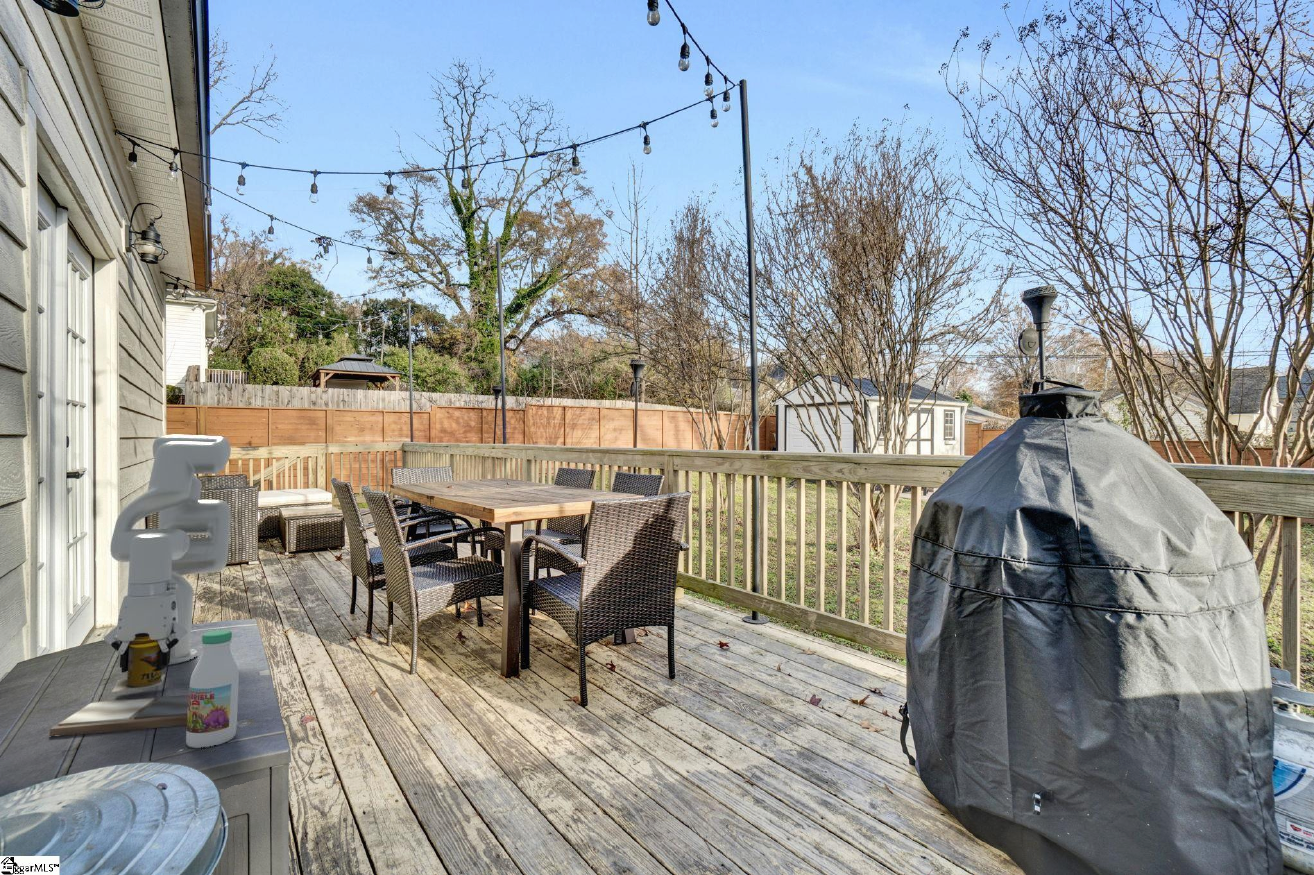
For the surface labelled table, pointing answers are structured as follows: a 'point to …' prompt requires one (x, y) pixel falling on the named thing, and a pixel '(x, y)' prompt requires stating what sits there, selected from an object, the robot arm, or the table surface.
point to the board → (125, 715)
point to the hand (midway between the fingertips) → (144, 668)
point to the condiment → (142, 664)
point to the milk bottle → (213, 693)
